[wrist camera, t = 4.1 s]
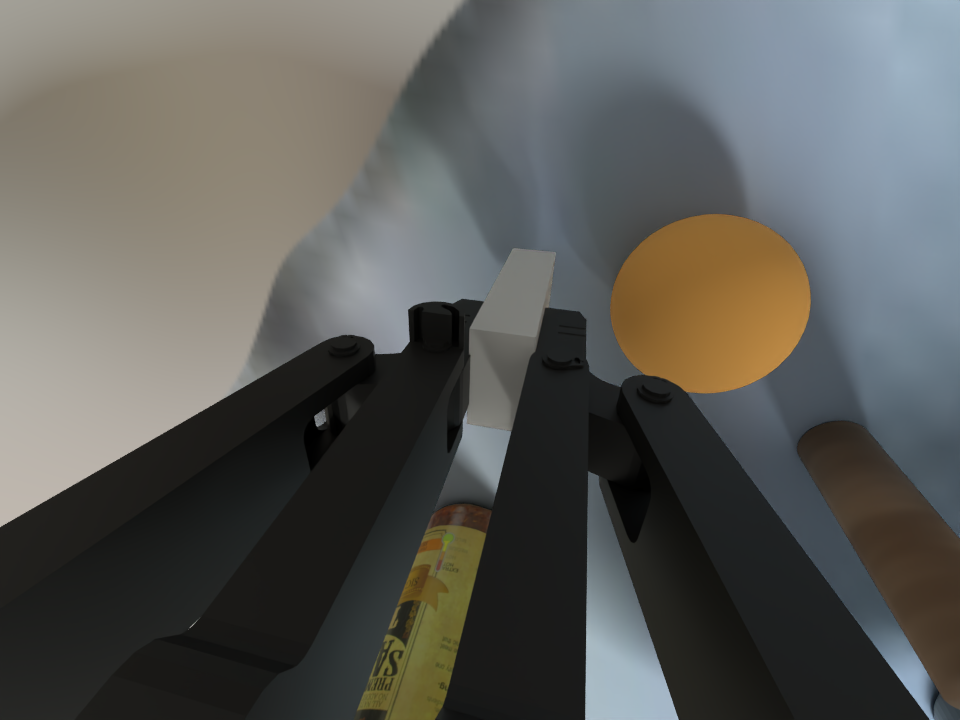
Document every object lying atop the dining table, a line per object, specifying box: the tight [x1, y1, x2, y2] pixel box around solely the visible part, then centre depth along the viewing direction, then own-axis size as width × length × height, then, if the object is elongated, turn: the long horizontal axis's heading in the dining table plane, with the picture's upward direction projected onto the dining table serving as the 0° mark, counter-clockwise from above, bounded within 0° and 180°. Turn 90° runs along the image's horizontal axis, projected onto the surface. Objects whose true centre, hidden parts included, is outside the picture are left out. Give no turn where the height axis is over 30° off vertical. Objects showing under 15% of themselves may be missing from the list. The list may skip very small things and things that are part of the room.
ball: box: [610, 214, 811, 393], centre depth 14 cm, size 6×6×6 cm
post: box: [797, 421, 960, 710], centre depth 14 cm, size 3×3×9 cm
